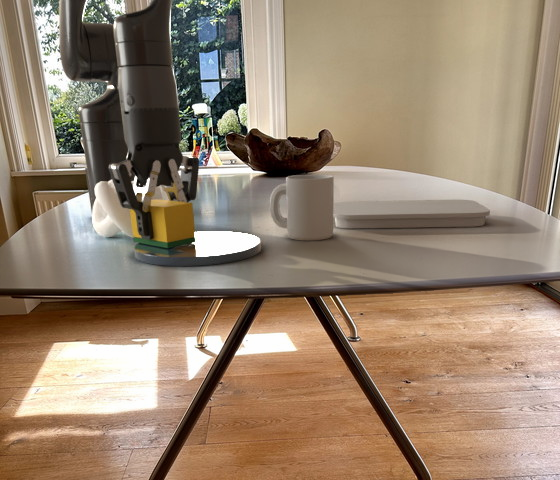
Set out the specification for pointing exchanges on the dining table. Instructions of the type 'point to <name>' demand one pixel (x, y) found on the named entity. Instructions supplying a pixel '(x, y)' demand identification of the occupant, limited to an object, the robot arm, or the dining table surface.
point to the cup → (305, 206)
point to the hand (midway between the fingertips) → (163, 235)
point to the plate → (202, 250)
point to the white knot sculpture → (112, 210)
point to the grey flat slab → (409, 214)
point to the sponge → (168, 224)
